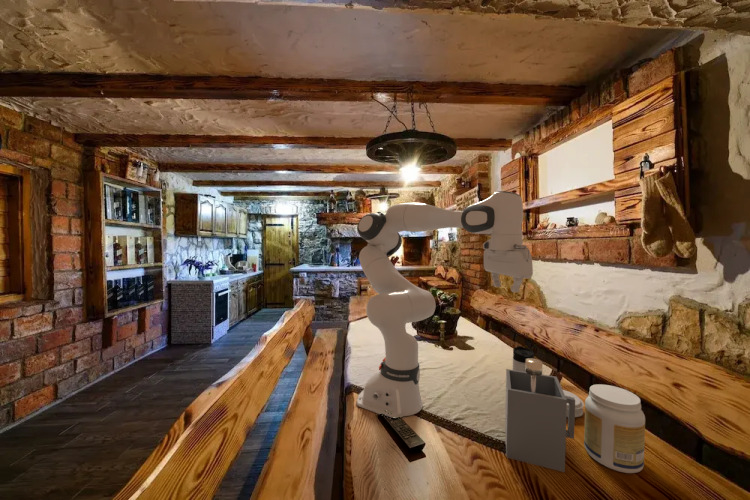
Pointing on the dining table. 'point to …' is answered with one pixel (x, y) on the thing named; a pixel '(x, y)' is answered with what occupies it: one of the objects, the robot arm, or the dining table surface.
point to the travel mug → (521, 357)
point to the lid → (578, 404)
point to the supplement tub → (615, 428)
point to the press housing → (537, 420)
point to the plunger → (533, 371)
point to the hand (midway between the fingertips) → (505, 289)
